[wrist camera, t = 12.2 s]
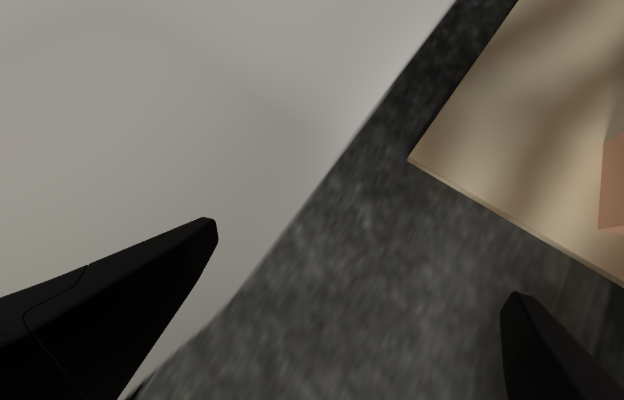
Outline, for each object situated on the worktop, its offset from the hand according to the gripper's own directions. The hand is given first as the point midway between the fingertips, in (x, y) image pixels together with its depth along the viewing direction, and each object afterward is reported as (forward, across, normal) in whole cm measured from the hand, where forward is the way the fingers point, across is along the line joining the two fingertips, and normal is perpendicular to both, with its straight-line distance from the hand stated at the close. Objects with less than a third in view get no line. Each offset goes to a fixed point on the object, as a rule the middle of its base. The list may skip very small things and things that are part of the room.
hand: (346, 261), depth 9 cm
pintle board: (+20, -13, -1) cm, 24 cm away
